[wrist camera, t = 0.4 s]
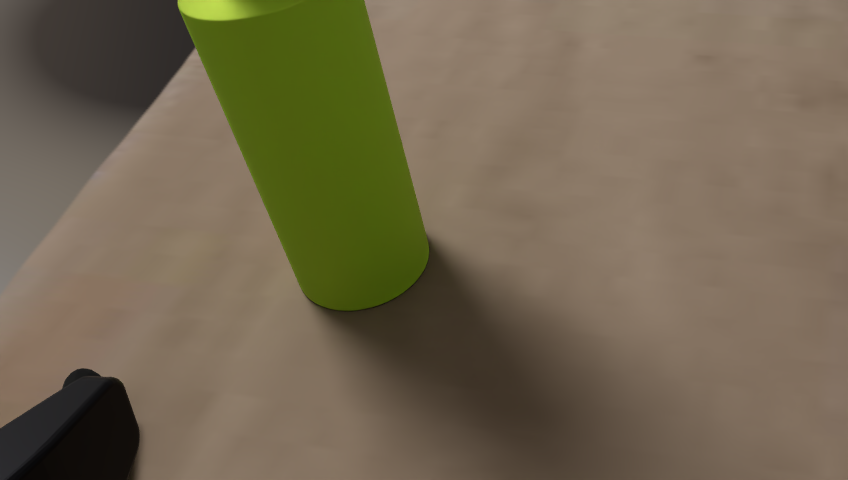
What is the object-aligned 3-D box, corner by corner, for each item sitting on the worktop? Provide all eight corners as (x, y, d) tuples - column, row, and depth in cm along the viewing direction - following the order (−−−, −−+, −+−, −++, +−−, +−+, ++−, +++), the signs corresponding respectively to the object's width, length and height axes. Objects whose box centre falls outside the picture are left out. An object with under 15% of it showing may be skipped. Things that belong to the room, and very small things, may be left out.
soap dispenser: (455, 207, 35) (336, -322, 22) (400, 320, 31) (210, -259, 18) (341, 197, 38) (172, -289, 24) (275, 301, 33) (24, -225, 20)
